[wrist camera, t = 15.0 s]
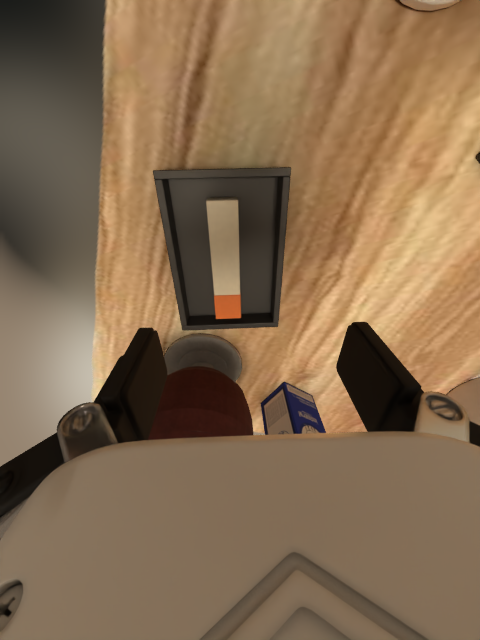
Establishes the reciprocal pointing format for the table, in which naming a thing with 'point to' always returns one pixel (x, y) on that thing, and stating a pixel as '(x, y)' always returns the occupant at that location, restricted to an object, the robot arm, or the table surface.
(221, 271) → the rectangular block
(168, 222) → the tray
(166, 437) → the mate gourd
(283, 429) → the milk carton
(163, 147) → the table surface
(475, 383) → the toilet paper roll
